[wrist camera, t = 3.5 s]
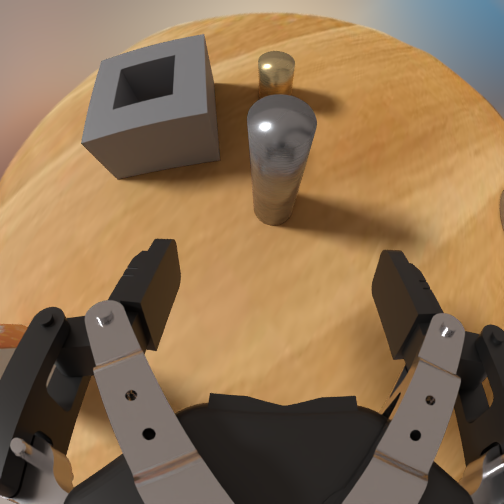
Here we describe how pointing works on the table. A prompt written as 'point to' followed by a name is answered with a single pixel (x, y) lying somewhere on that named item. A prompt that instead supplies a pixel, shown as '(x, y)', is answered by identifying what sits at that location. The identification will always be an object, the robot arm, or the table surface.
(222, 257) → the table surface
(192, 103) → the collar block
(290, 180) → the grey metal rod
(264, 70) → the brass pin
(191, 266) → the table surface
